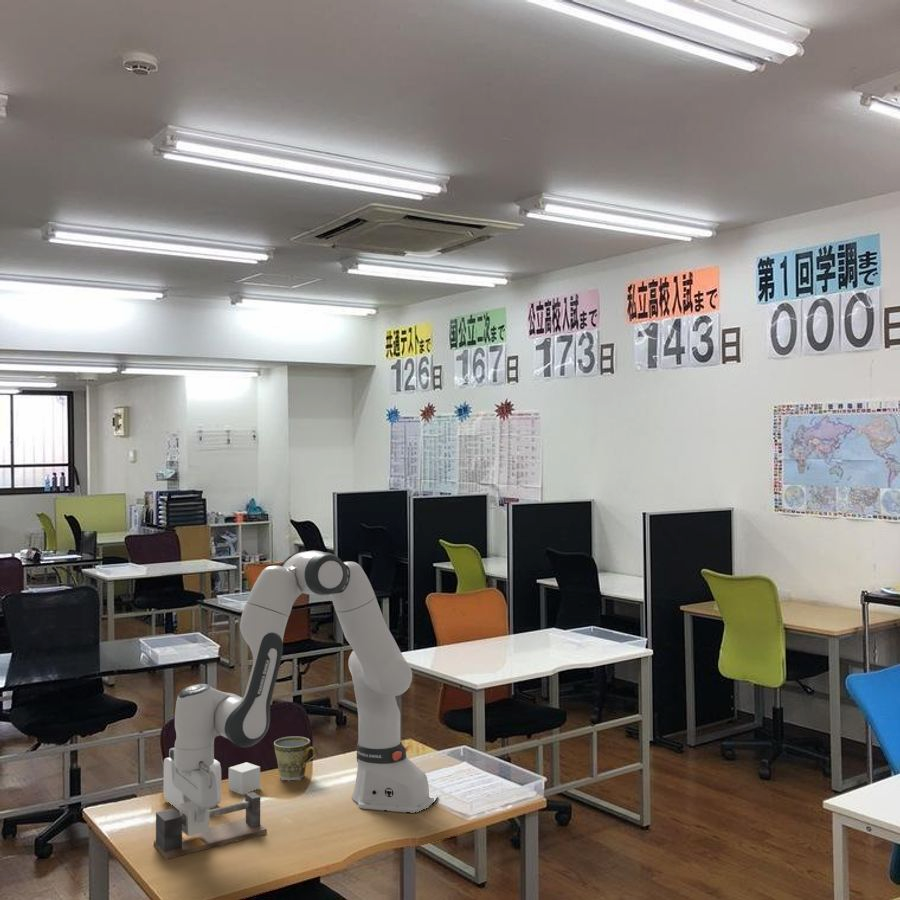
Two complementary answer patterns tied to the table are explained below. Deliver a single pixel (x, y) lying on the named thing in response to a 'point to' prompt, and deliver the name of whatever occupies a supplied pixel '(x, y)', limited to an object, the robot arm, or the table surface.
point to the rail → (179, 843)
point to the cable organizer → (175, 795)
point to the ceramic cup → (292, 756)
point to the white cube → (193, 819)
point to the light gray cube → (244, 778)
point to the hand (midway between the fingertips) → (194, 816)
